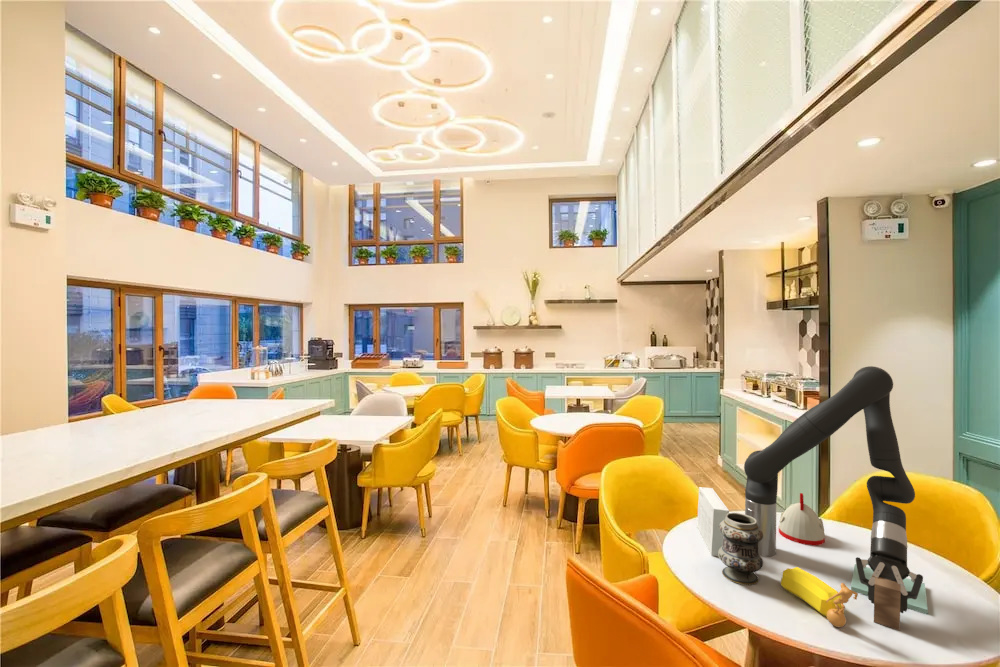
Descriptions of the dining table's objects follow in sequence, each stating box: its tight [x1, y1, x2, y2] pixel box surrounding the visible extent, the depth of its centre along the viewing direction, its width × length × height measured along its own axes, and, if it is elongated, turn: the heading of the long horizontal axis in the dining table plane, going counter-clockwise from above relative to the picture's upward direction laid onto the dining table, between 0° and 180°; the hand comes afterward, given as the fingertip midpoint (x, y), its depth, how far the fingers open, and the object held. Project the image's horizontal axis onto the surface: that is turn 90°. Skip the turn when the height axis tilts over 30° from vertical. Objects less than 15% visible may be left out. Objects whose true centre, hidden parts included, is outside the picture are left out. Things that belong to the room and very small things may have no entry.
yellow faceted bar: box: [780, 566, 845, 617], centre depth 125 cm, size 18×7×8 cm
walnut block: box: [873, 577, 901, 631], centre depth 116 cm, size 5×5×10 cm
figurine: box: [826, 582, 859, 628], centre depth 113 cm, size 8×6×12 cm
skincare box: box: [696, 486, 730, 557], centre depth 158 cm, size 21×6×16 cm, turn 168°
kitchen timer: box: [778, 492, 826, 546], centre depth 162 cm, size 14×14×15 cm
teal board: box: [850, 563, 929, 615], centre depth 130 cm, size 16×16×1 cm
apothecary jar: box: [717, 512, 764, 586], centre depth 136 cm, size 12×12×18 cm
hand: (887, 606), depth 114 cm, fingers closed on walnut block, 5 cm apart
